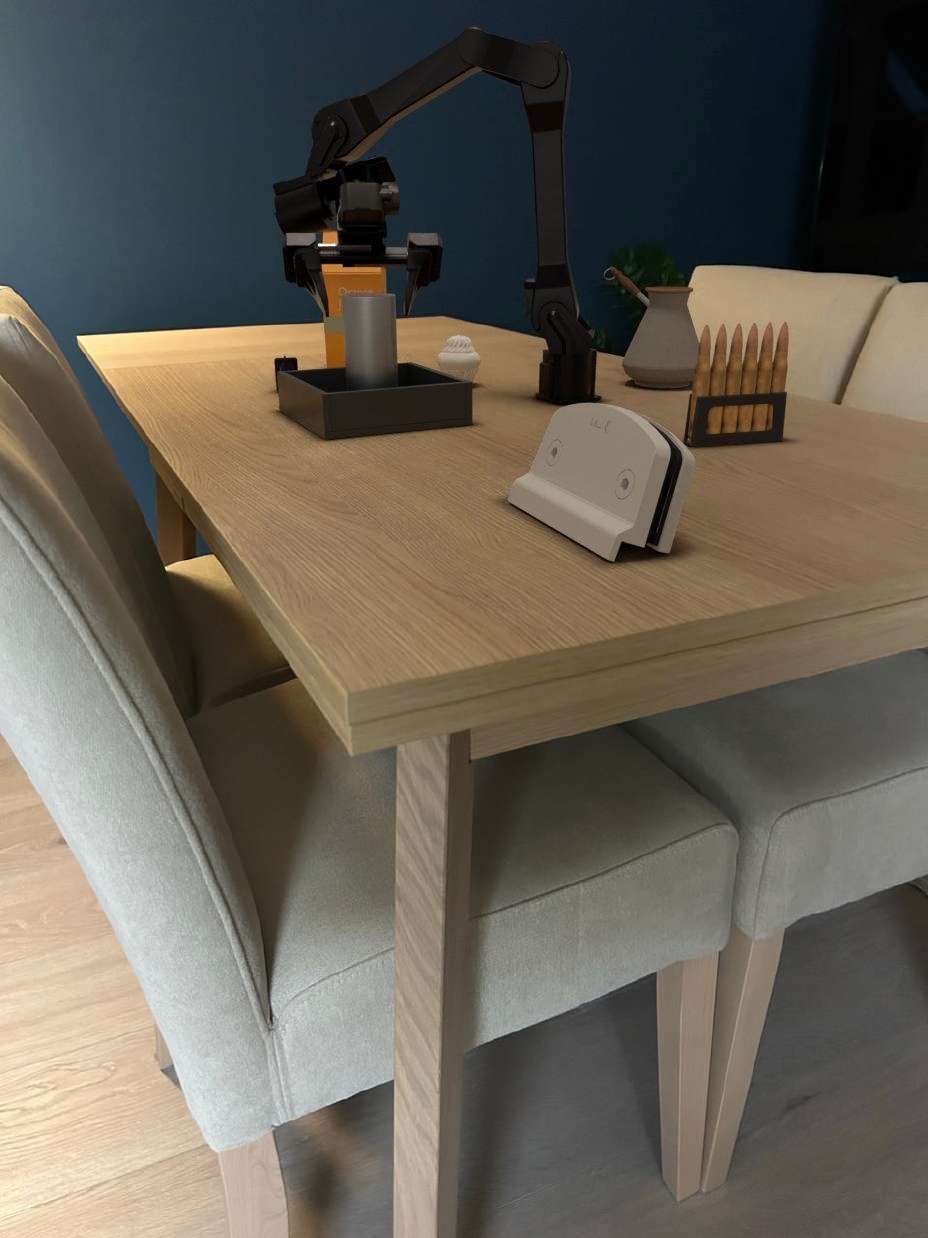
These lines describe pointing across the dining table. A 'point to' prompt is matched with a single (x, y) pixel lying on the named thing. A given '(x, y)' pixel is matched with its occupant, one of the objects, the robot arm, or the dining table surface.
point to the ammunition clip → (738, 390)
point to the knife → (285, 365)
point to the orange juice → (337, 285)
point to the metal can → (370, 340)
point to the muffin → (459, 358)
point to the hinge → (607, 479)
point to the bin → (374, 402)
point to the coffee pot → (661, 338)
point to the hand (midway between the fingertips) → (367, 314)
